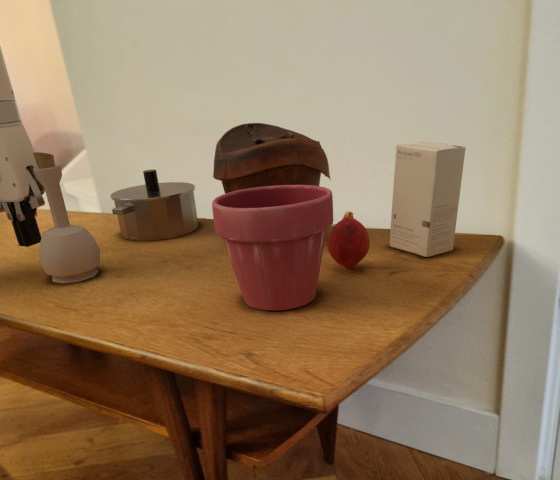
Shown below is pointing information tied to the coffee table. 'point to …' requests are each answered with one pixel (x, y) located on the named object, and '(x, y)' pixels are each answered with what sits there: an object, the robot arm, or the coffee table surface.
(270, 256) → the flower pot
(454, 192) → the cosmetic box
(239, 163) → the chocolate muffin
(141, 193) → the pan lid
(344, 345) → the coffee table surface
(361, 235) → the onion
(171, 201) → the pan
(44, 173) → the potion bottle
